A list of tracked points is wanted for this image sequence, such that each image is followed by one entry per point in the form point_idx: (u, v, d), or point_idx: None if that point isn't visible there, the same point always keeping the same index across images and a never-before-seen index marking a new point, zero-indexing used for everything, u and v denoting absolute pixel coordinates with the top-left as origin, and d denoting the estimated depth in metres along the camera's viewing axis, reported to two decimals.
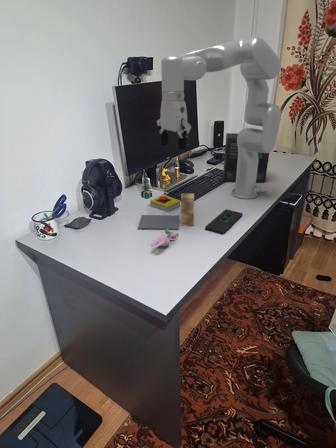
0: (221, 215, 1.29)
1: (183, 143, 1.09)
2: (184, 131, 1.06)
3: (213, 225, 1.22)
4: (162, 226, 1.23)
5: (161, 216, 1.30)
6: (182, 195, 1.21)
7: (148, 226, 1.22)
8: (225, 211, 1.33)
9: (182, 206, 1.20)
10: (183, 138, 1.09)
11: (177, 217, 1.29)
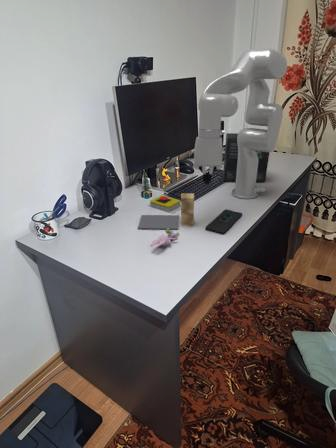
0: (221, 215, 1.29)
1: None
2: (214, 167, 1.13)
3: (213, 225, 1.21)
4: (162, 226, 1.23)
5: (161, 216, 1.30)
6: (182, 195, 1.21)
7: (148, 226, 1.22)
8: (225, 211, 1.33)
9: (182, 206, 1.20)
10: None
11: (177, 217, 1.29)
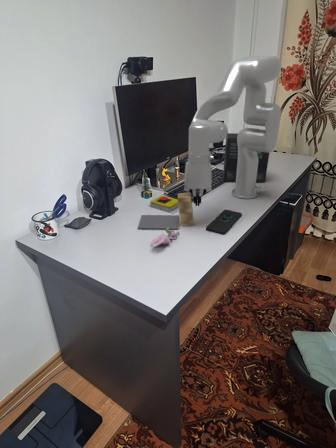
0: (221, 215, 1.29)
1: None
2: (204, 190, 1.18)
3: (213, 225, 1.21)
4: (162, 226, 1.23)
5: (161, 216, 1.30)
6: (179, 195, 1.21)
7: (148, 226, 1.22)
8: (224, 211, 1.33)
9: (180, 206, 1.20)
10: (201, 196, 1.20)
11: (177, 217, 1.29)
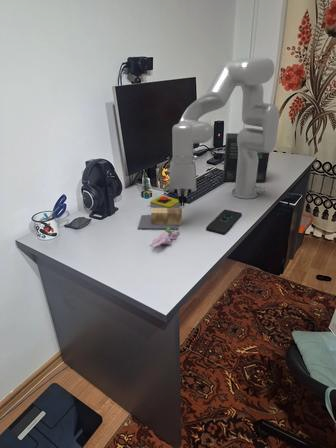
0: (221, 215, 1.29)
1: None
2: (189, 190, 1.18)
3: (213, 225, 1.21)
4: (162, 226, 1.23)
5: None
6: None
7: (148, 226, 1.22)
8: (224, 211, 1.32)
9: (160, 223, 1.24)
10: None
11: None
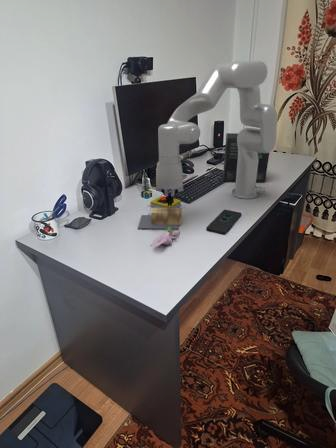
0: (220, 215, 1.29)
1: (173, 200, 1.21)
2: (176, 190, 1.19)
3: (213, 225, 1.21)
4: (162, 226, 1.23)
5: None
6: None
7: (148, 226, 1.22)
8: (224, 211, 1.32)
9: (160, 223, 1.24)
10: (173, 196, 1.20)
11: None
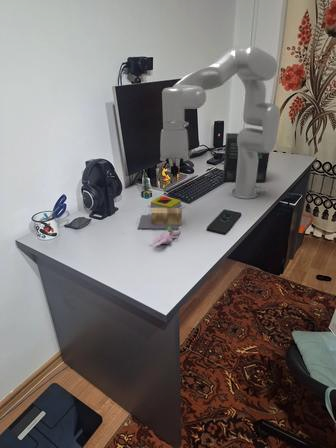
0: (220, 215, 1.29)
1: (178, 170, 1.16)
2: (181, 159, 1.13)
3: (214, 225, 1.21)
4: (162, 226, 1.23)
5: None
6: None
7: (148, 226, 1.22)
8: (224, 211, 1.32)
9: (160, 223, 1.24)
10: (178, 166, 1.15)
11: None
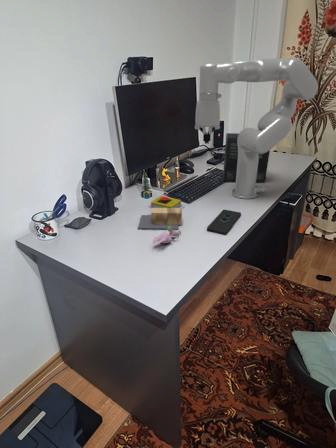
0: (220, 215, 1.29)
1: None
2: (213, 128, 1.30)
3: (214, 225, 1.21)
4: (162, 226, 1.23)
5: None
6: None
7: (148, 226, 1.22)
8: (223, 211, 1.32)
9: (160, 223, 1.24)
10: (210, 134, 1.32)
11: None
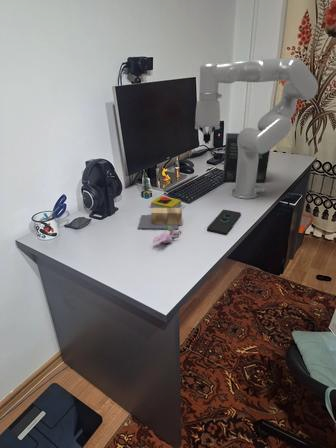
0: (220, 215, 1.29)
1: None
2: (213, 127, 1.30)
3: (214, 225, 1.21)
4: (162, 226, 1.23)
5: None
6: None
7: (148, 226, 1.22)
8: (223, 211, 1.32)
9: (160, 223, 1.24)
10: (210, 133, 1.32)
11: None
